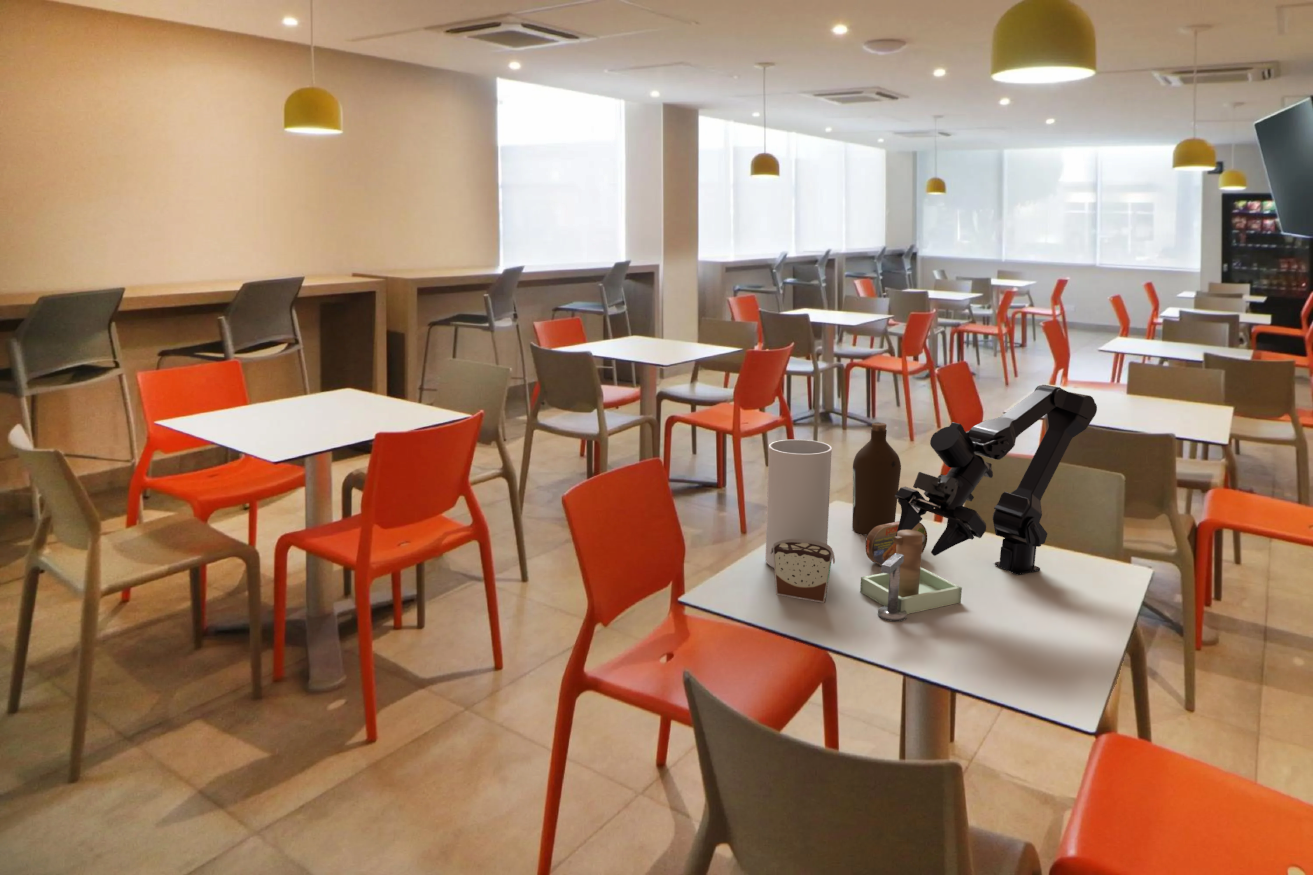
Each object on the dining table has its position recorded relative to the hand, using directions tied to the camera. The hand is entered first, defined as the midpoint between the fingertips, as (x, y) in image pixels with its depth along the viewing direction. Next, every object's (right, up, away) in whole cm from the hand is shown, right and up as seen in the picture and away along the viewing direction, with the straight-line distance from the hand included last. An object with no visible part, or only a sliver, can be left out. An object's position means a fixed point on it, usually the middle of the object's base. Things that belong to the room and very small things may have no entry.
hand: (914, 546), depth 177 cm
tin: (+2, -6, +21) cm, 22 cm away
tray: (0, -10, +2) cm, 10 cm away
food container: (-20, -9, +4) cm, 22 cm away
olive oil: (+1, -1, +40) cm, 40 cm away
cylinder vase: (-19, -6, +19) cm, 28 cm away
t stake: (-6, -12, -7) cm, 15 cm away
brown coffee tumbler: (-1, -9, +1) cm, 9 cm away
